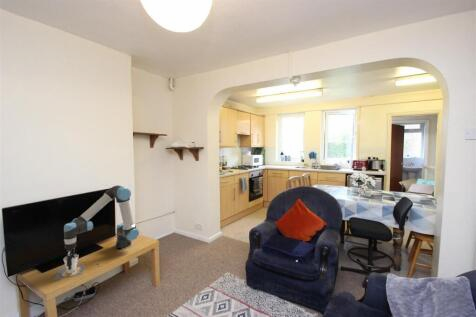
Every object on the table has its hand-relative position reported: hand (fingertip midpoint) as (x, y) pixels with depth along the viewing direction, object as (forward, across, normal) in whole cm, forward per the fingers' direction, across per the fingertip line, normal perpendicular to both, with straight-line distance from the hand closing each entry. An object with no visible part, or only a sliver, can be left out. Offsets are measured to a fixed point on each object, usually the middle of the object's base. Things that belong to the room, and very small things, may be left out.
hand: (71, 269), depth 180 cm
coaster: (+2, 0, 0) cm, 2 cm away
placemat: (+2, -1, -1) cm, 3 cm away
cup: (+1, 0, 0) cm, 1 cm away
